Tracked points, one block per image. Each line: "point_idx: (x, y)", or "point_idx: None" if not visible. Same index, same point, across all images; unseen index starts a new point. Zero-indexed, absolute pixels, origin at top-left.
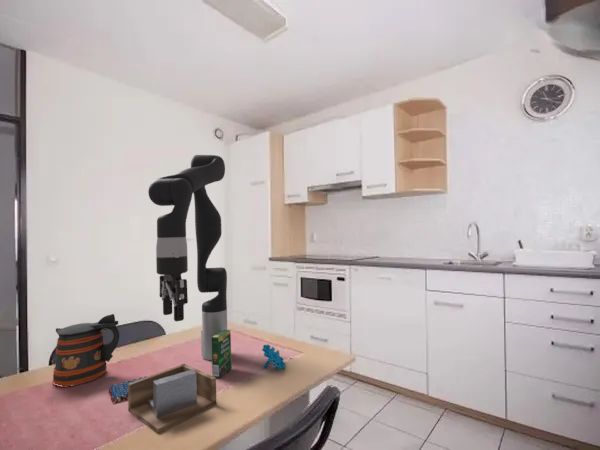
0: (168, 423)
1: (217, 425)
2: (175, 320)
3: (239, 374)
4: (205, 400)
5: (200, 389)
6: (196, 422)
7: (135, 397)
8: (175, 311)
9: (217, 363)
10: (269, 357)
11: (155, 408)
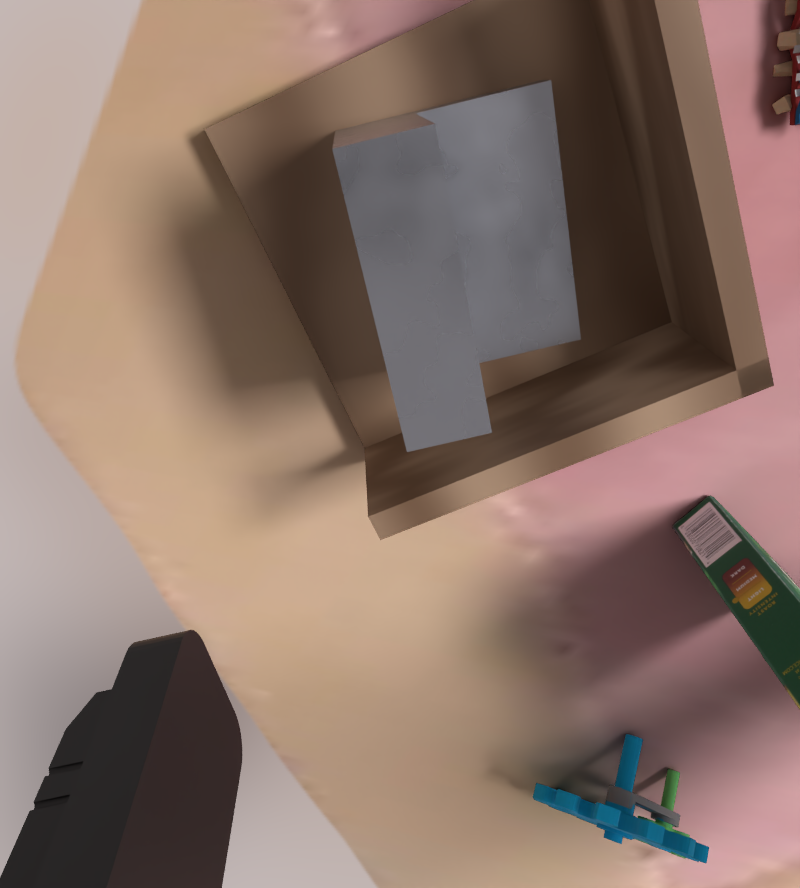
0: (241, 194)
1: (157, 426)
2: (130, 650)
3: (641, 620)
4: None
5: None
6: (233, 338)
7: None
8: (70, 816)
9: (718, 570)
10: (577, 812)
11: (365, 126)
